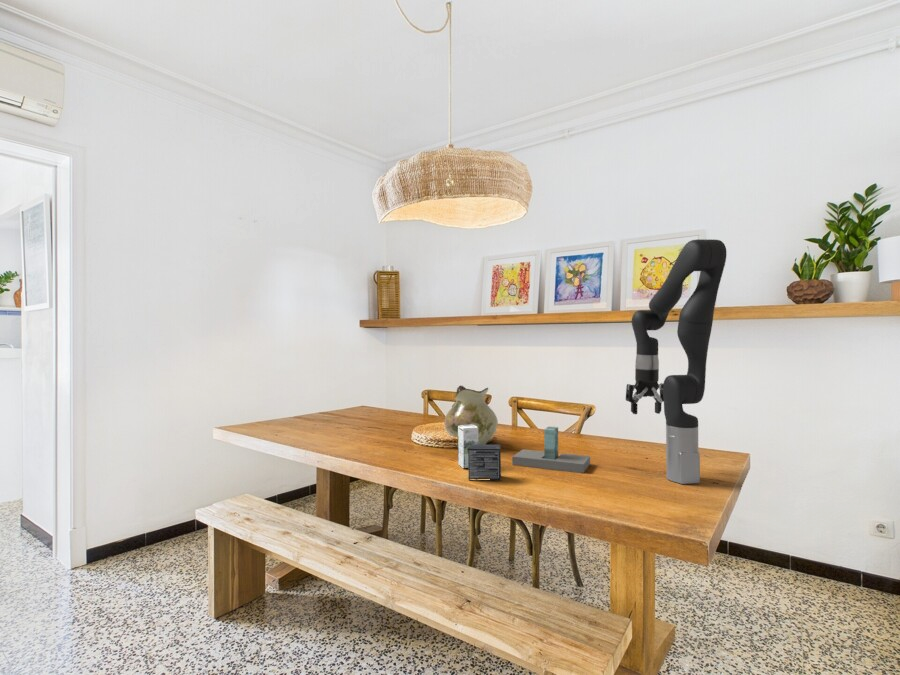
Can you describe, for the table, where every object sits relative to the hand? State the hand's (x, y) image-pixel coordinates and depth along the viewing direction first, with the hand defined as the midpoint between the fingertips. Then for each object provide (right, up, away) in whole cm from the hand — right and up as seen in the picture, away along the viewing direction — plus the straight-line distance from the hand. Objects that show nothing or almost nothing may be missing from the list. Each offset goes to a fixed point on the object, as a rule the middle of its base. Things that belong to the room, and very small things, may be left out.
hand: (646, 413), depth 167 cm
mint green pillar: (-32, -19, +4) cm, 38 cm away
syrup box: (-62, -19, +2) cm, 65 cm away
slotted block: (-32, -19, +4) cm, 38 cm away
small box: (-57, -19, -12) cm, 62 cm away
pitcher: (-60, -19, +35) cm, 72 cm away
